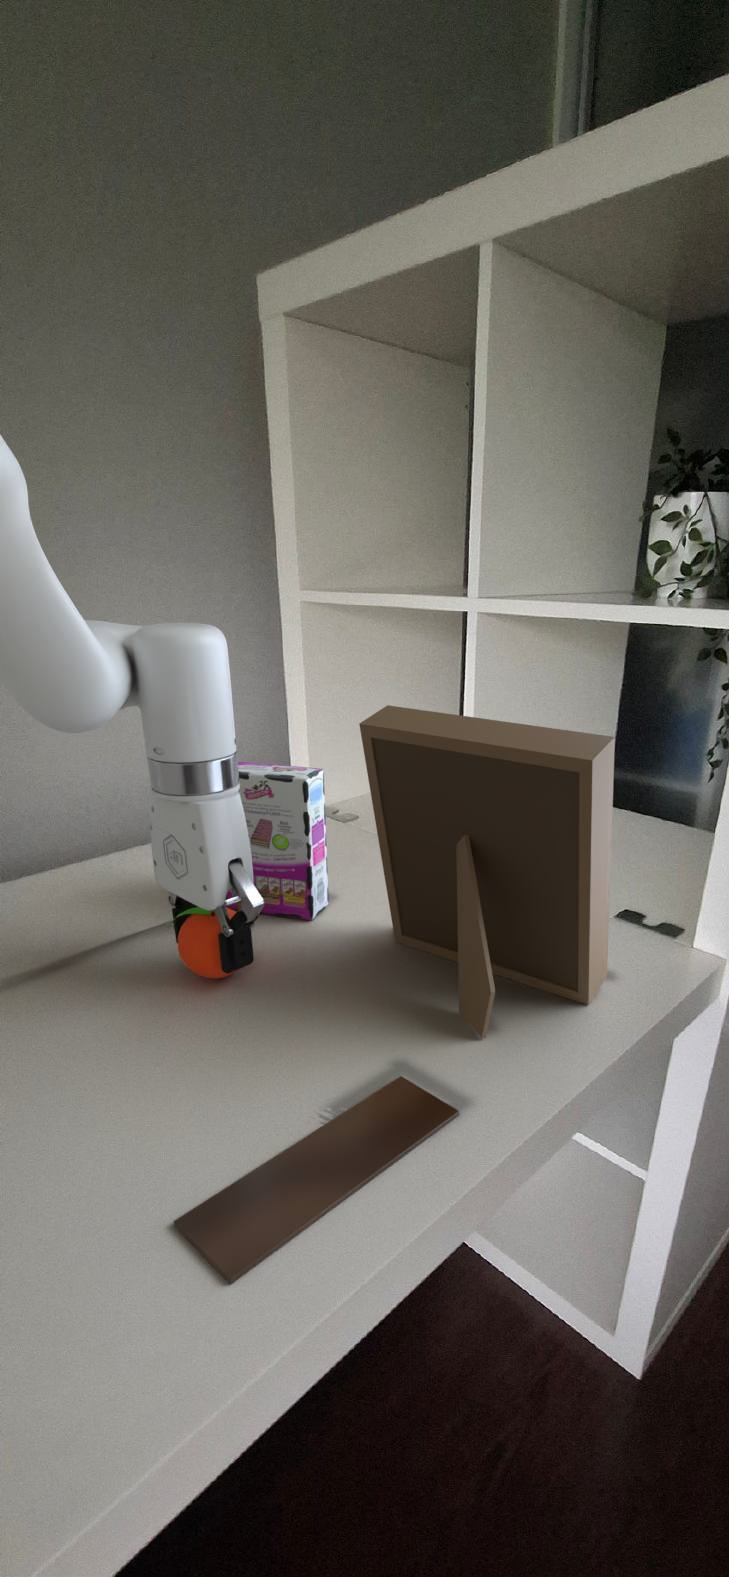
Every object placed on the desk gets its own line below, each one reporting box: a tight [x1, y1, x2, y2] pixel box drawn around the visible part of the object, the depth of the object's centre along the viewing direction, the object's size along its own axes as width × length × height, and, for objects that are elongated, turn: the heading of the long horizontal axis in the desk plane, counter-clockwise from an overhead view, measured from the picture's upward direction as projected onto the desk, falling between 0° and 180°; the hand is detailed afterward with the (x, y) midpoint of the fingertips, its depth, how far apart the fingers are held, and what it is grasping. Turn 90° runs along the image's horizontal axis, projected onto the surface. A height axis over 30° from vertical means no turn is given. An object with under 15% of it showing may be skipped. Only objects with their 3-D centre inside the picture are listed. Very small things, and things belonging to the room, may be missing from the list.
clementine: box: [168, 907, 240, 979], centre depth 74 cm, size 8×7×7 cm
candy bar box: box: [225, 761, 330, 921], centre depth 87 cm, size 11×5×16 cm, turn 73°
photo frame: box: [359, 704, 616, 1039], centre depth 69 cm, size 15×22×25 cm
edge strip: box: [173, 1075, 460, 1285], centre depth 52 cm, size 6×20×1 cm, turn 137°
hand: (214, 952), depth 75 cm, fingers closed on clementine, 7 cm apart
